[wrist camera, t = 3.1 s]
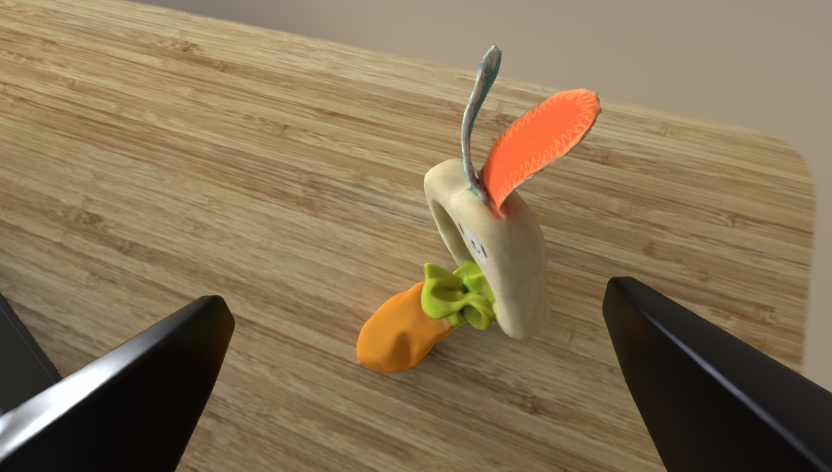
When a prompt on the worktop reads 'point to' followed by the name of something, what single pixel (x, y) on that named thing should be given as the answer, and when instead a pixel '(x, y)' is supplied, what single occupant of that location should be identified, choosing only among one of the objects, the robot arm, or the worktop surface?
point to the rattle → (483, 234)
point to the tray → (20, 362)
